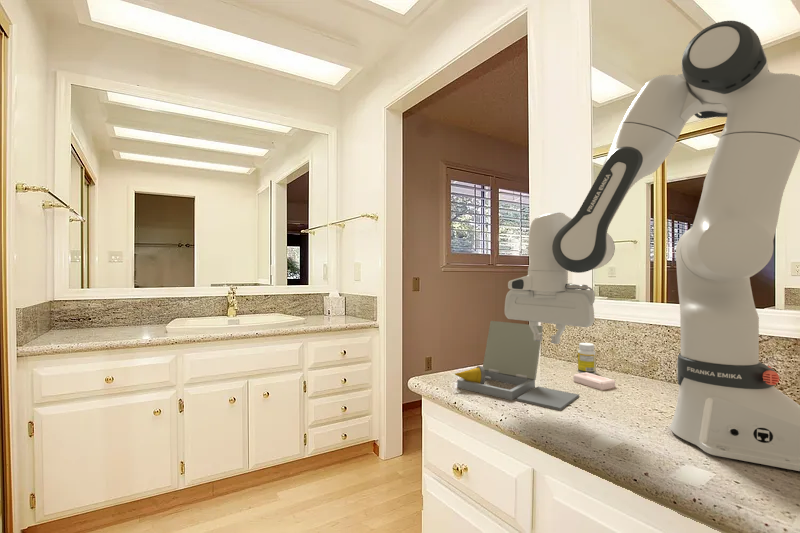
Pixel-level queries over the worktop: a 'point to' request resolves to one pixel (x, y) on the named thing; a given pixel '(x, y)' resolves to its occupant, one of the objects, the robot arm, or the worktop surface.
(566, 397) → the rubber mat
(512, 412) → the worktop surface
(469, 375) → the yellow cone
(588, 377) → the soap bar
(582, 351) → the supplement bottle
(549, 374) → the worktop surface
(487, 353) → the equipment case
